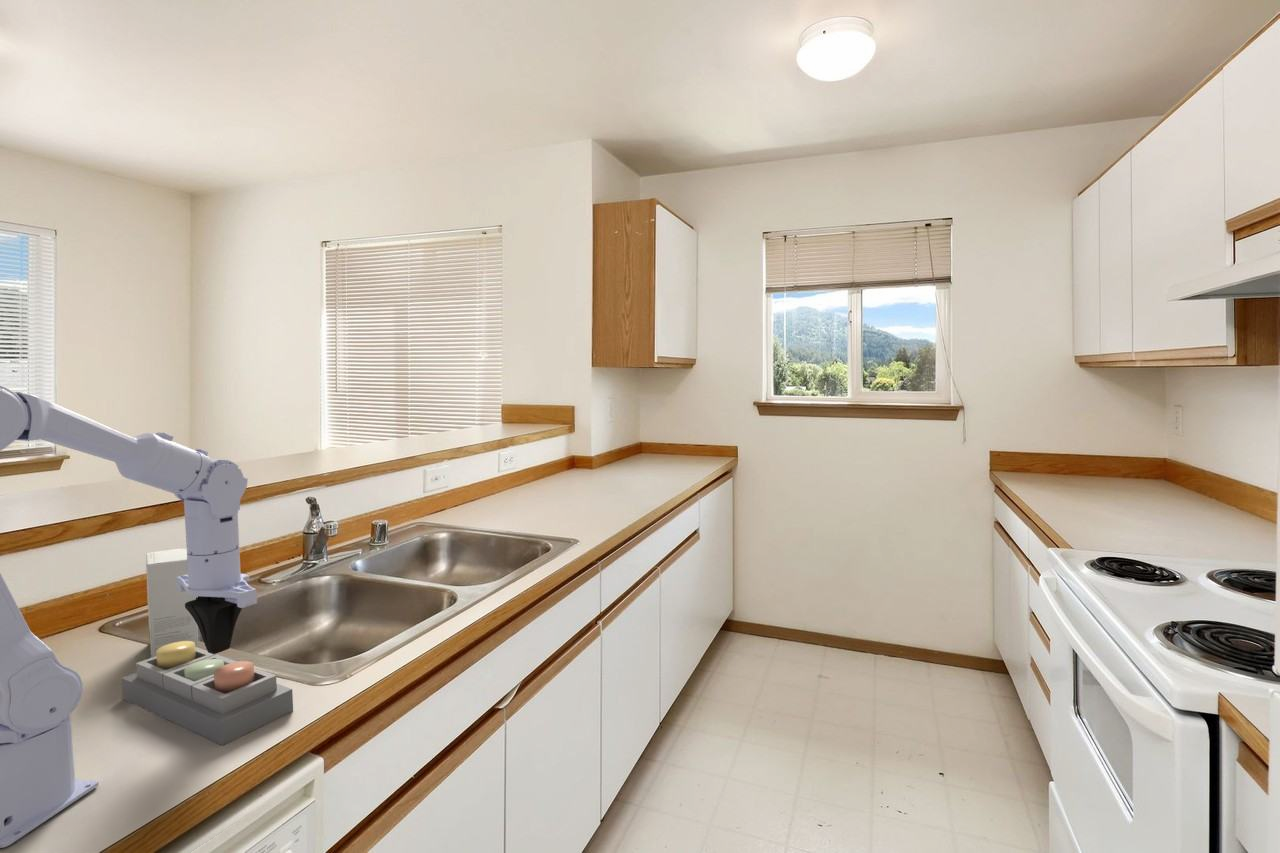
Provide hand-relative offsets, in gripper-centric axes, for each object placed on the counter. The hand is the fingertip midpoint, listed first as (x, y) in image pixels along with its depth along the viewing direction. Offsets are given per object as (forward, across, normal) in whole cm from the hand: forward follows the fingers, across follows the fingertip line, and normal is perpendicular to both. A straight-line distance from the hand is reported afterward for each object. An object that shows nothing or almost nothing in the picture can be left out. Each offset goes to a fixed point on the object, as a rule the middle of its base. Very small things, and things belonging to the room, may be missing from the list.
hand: (218, 650), depth 83 cm
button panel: (+8, +4, 0) cm, 9 cm away
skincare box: (+9, +28, -9) cm, 31 cm away
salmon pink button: (+4, -3, 0) cm, 5 cm away
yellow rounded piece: (+4, +11, 0) cm, 11 cm away
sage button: (+5, +4, 0) cm, 6 cm away
